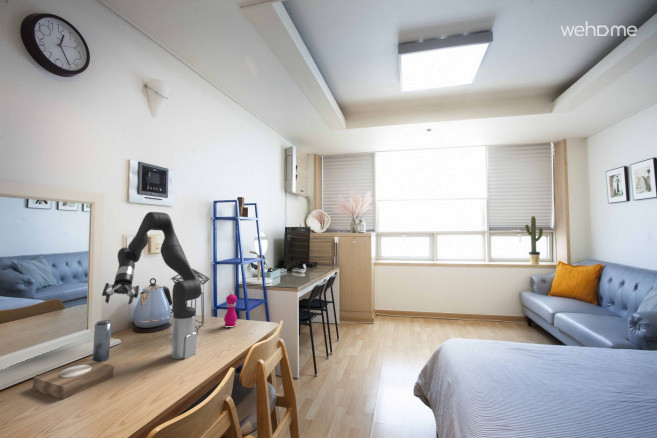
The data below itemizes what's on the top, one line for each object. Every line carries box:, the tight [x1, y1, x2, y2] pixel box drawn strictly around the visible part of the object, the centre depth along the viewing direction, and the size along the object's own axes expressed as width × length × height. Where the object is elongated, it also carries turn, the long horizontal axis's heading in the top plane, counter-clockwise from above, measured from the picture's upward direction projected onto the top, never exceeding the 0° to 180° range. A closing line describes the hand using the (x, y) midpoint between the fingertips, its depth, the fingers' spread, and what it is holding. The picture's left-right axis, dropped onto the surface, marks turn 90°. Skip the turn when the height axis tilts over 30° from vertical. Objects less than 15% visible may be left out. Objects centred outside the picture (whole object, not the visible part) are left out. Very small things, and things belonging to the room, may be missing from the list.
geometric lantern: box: [170, 268, 211, 334], centre depth 157 cm, size 16×16×35 cm
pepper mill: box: [223, 291, 238, 327], centre depth 171 cm, size 7×7×20 cm
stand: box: [32, 358, 115, 400], centre depth 105 cm, size 16×16×4 cm
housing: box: [92, 319, 112, 363], centre depth 124 cm, size 6×6×16 cm
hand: (118, 302), depth 137 cm, fingers open, 8 cm apart
